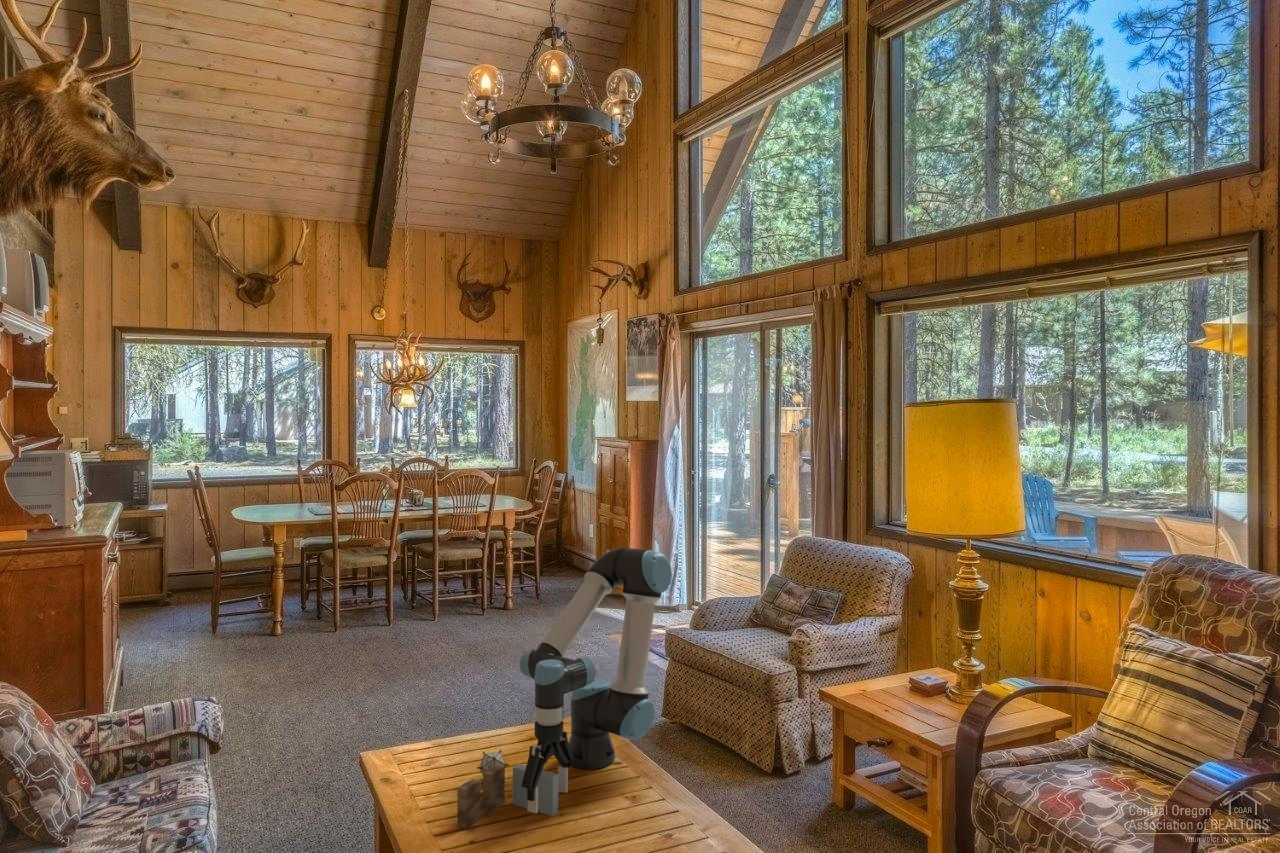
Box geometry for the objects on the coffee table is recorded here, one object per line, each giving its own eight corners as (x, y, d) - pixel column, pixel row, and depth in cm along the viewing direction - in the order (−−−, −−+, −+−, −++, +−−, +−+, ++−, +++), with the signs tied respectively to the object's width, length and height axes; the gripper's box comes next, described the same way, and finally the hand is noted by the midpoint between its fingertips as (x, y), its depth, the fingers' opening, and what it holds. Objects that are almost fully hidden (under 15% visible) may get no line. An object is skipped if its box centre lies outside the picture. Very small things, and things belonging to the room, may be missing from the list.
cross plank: (518, 800, 228) (518, 763, 228) (558, 812, 222) (558, 774, 222) (512, 804, 226) (512, 767, 226) (552, 815, 220) (552, 777, 219)
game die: (496, 795, 239) (500, 776, 233) (470, 782, 241) (473, 762, 235) (511, 769, 246) (515, 750, 240) (485, 756, 248) (489, 737, 242)
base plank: (497, 801, 228) (497, 764, 227) (504, 803, 226) (504, 766, 226) (457, 826, 214) (457, 787, 213) (464, 828, 212) (465, 789, 212)
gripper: (563, 704, 234) (563, 780, 234) (508, 733, 212) (507, 817, 213) (586, 709, 230) (585, 786, 231) (532, 739, 209) (531, 824, 209)
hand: (548, 801), depth 222 cm, fingers open, 13 cm apart
